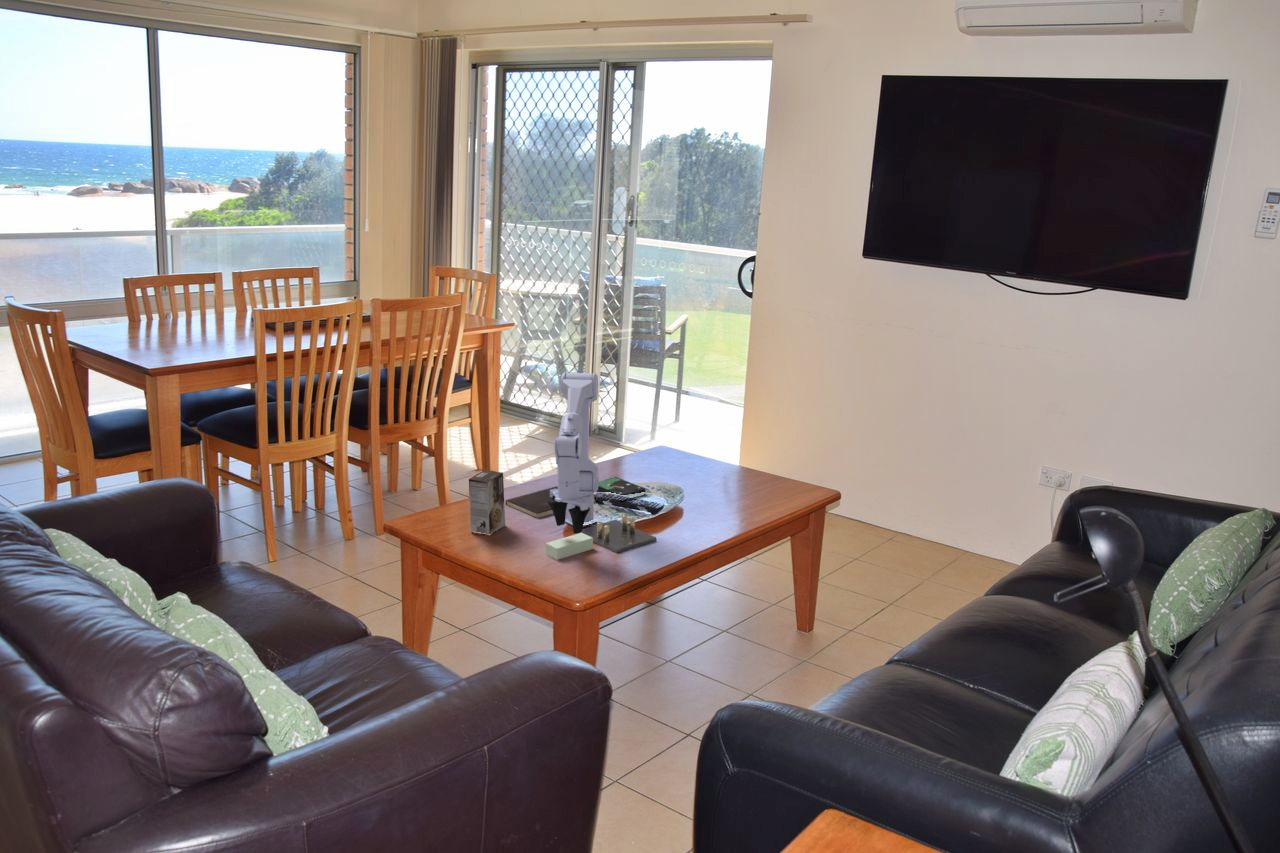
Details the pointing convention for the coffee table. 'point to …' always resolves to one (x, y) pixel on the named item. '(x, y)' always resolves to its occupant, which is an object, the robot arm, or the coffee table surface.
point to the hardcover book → (533, 503)
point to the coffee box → (487, 501)
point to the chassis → (618, 535)
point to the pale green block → (569, 546)
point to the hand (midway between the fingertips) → (569, 528)
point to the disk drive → (619, 486)
